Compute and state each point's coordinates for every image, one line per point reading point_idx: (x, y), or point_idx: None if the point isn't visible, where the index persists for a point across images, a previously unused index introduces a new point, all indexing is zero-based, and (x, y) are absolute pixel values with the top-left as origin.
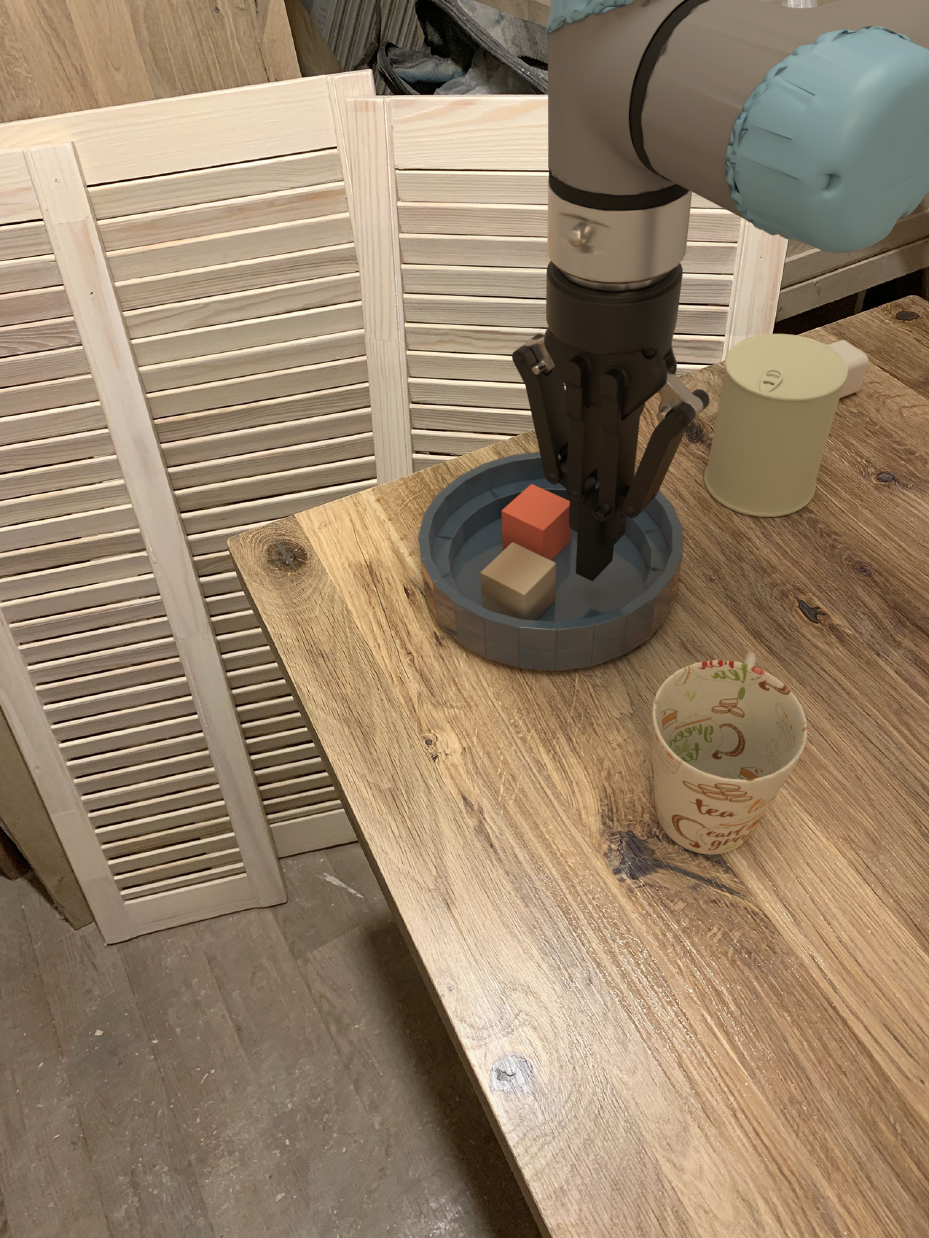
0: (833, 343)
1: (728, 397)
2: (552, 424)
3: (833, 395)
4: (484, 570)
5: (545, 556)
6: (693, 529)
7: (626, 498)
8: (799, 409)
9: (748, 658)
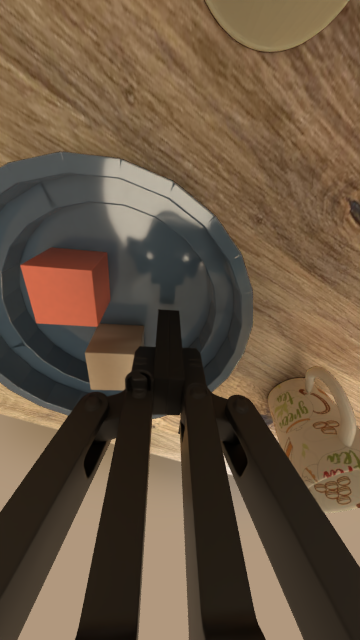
0: None
1: None
2: (51, 554)
3: None
4: (92, 387)
5: (107, 303)
6: (217, 138)
7: (225, 454)
8: None
9: (352, 429)
